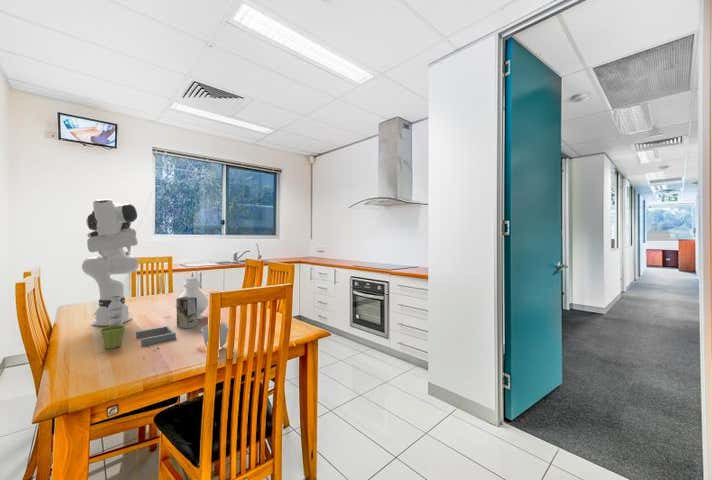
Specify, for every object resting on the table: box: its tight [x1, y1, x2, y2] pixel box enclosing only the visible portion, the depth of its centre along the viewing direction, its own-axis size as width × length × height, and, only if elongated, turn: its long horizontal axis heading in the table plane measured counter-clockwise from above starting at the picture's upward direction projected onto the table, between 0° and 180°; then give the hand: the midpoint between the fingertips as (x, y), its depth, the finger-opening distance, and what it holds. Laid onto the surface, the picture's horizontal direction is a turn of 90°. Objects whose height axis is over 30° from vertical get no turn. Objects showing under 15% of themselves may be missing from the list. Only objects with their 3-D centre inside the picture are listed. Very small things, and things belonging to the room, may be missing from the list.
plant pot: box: [99, 324, 126, 350], centre depth 143 cm, size 9×9×9 cm
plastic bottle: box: [108, 296, 125, 334], centre depth 158 cm, size 6×7×20 cm
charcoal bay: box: [135, 325, 177, 347], centre depth 155 cm, size 15×14×3 cm
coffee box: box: [175, 297, 198, 329], centre depth 175 cm, size 9×6×16 cm
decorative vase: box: [175, 276, 209, 320], centre depth 190 cm, size 18×18×25 cm
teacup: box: [200, 323, 230, 348], centre depth 143 cm, size 12×15×10 cm
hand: (116, 257), depth 159 cm, fingers open, 8 cm apart
